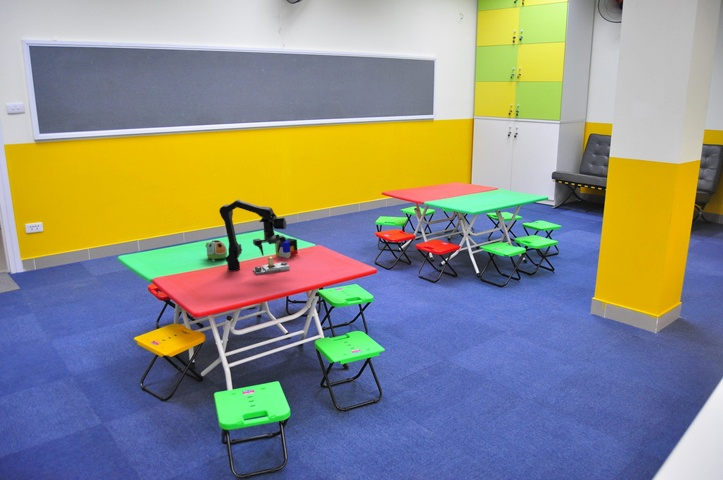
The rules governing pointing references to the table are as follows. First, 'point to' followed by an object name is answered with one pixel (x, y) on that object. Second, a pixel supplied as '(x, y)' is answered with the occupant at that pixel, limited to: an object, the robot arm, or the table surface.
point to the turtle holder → (216, 250)
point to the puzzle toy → (287, 248)
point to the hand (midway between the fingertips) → (270, 254)
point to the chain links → (276, 268)
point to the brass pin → (270, 262)
